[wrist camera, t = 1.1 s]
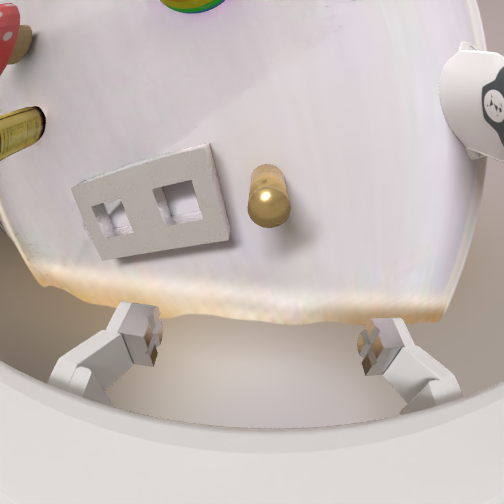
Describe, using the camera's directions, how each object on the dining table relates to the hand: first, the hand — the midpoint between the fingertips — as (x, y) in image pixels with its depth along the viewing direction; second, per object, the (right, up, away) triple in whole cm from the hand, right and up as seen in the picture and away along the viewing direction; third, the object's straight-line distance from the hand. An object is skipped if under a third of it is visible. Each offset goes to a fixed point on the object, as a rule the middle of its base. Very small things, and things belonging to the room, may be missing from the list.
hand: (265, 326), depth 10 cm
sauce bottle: (-33, +22, +18) cm, 44 cm away
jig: (-14, +10, +25) cm, 30 cm away
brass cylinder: (+1, +12, +23) cm, 26 cm away
